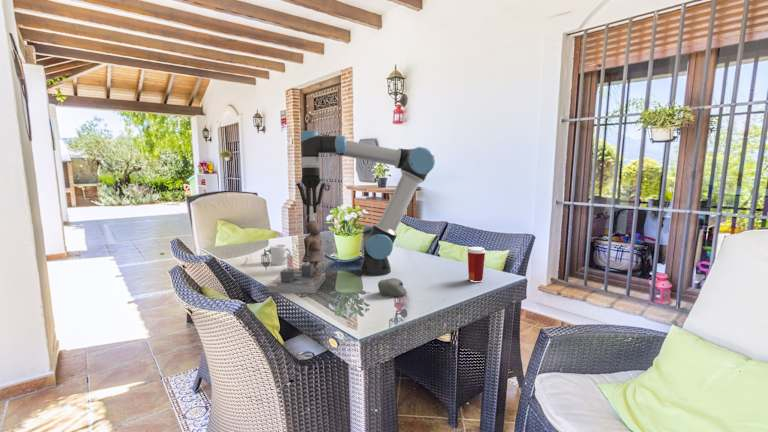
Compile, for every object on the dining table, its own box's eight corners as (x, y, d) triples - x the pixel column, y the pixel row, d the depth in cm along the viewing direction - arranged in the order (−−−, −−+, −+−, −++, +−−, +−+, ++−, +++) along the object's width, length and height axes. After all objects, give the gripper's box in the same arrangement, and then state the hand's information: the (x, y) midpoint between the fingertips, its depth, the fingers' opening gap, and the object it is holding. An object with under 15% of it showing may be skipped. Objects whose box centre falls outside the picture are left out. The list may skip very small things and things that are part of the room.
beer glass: (486, 279, 175) (487, 247, 173) (483, 284, 168) (483, 251, 166) (468, 277, 178) (468, 245, 177) (464, 282, 171) (464, 249, 169)
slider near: (294, 280, 165) (293, 267, 165) (290, 283, 160) (289, 270, 160) (285, 280, 166) (284, 267, 165) (281, 283, 161) (280, 270, 160)
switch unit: (325, 279, 177) (325, 270, 177) (314, 293, 158) (314, 284, 157) (283, 278, 179) (283, 270, 178) (267, 292, 159) (267, 283, 158)
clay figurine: (314, 274, 186) (312, 223, 183) (297, 272, 190) (295, 222, 187) (328, 267, 198) (327, 220, 195) (312, 265, 202) (310, 219, 199)
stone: (405, 298, 150) (393, 276, 150) (385, 307, 152) (374, 285, 152) (408, 291, 159) (397, 270, 159) (390, 300, 161) (379, 279, 161)
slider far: (313, 273, 175) (313, 261, 174) (310, 277, 170) (310, 264, 169) (305, 273, 175) (304, 261, 174) (301, 276, 170) (301, 264, 169)
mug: (286, 266, 200) (286, 248, 199) (268, 264, 205) (267, 246, 204) (296, 263, 208) (295, 245, 206) (278, 261, 212) (277, 244, 211)
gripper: (327, 166, 169) (328, 219, 172) (298, 167, 170) (300, 219, 173) (323, 166, 162) (325, 221, 165) (293, 167, 163) (295, 221, 166)
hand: (312, 220), depth 169 cm, fingers closed
